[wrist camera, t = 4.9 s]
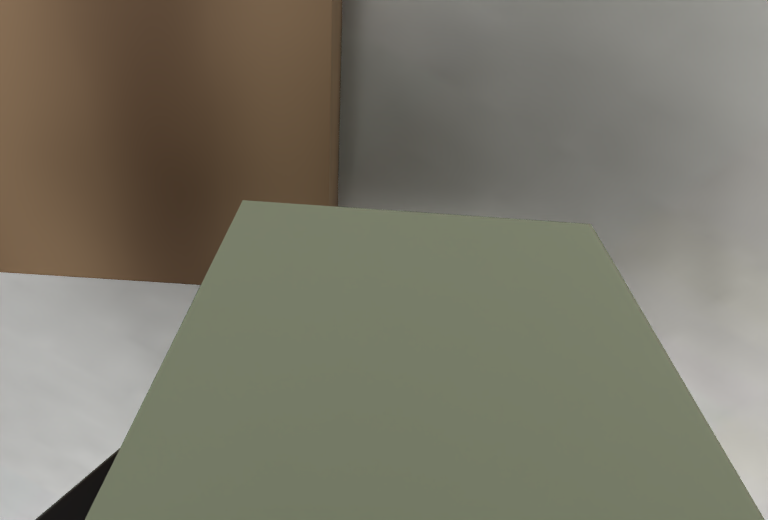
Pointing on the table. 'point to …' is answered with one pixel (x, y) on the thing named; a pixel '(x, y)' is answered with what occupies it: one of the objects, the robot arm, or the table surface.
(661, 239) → the table surface
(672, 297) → the table surface
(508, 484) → the sage cube
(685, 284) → the table surface
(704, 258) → the table surface
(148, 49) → the walnut block
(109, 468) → the robot arm
